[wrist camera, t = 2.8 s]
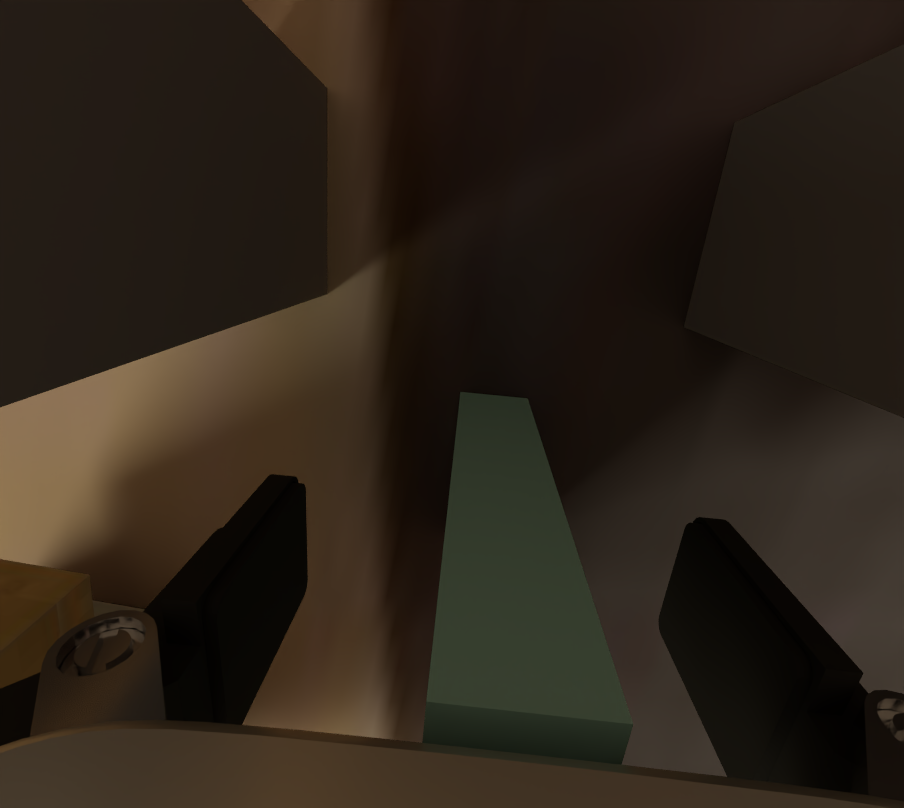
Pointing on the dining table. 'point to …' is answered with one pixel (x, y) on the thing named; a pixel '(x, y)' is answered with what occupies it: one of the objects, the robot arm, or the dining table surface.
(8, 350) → the domino
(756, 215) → the domino
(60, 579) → the toy
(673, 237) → the dining table surface
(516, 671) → the domino
